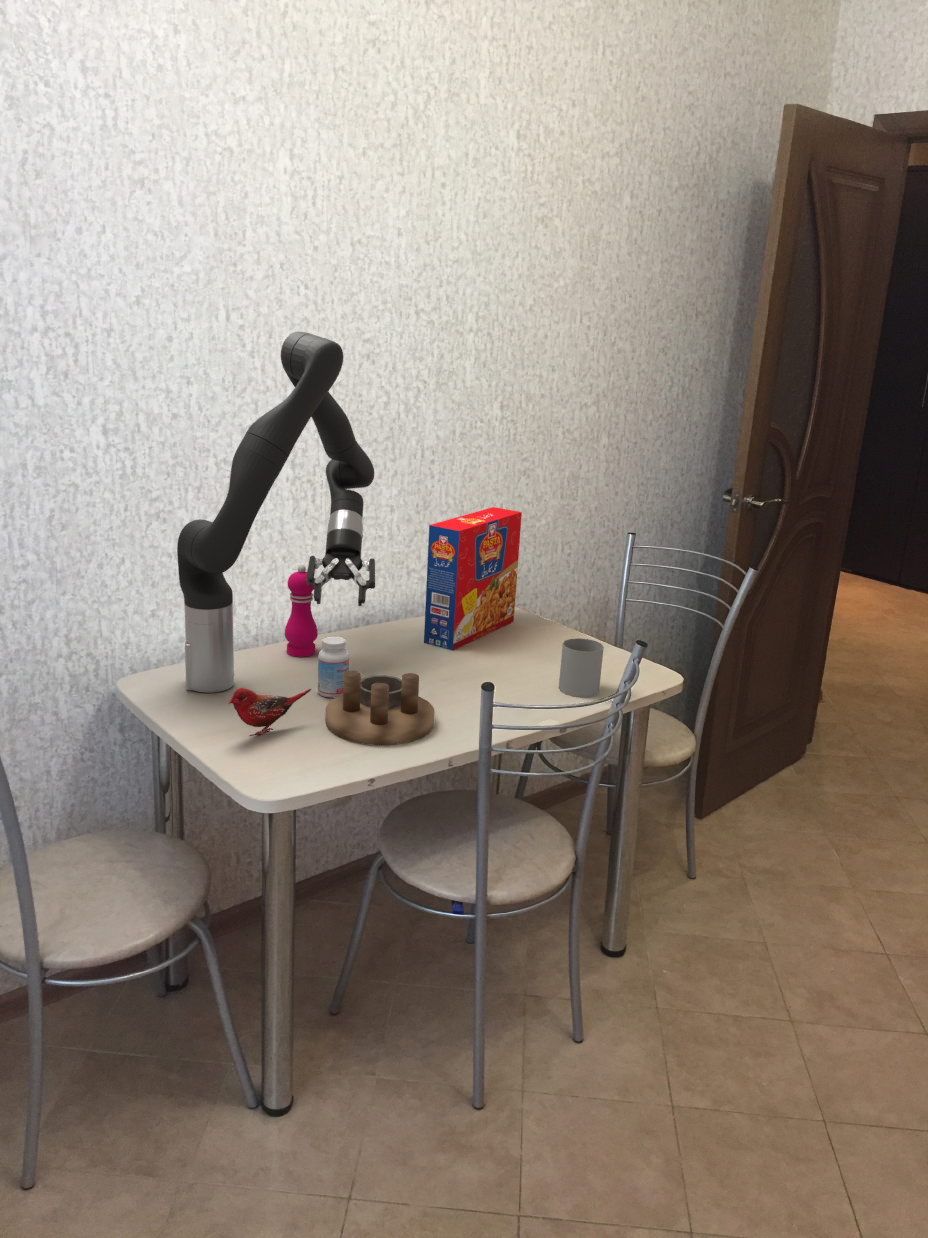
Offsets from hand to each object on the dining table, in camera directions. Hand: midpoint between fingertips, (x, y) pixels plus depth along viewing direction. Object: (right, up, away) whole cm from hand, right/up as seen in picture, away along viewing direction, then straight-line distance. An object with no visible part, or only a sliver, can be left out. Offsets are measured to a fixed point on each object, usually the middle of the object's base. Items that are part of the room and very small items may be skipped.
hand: (339, 603), depth 210 cm
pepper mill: (-10, -11, +15) cm, 21 cm away
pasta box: (+27, -7, +35) cm, 45 cm away
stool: (+10, -23, -18) cm, 31 cm away
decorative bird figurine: (-9, -24, -25) cm, 36 cm away
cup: (+50, -18, +3) cm, 53 cm away
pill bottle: (0, -18, -6) cm, 19 cm away
